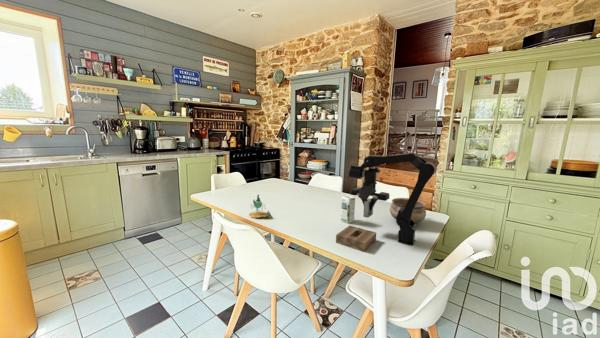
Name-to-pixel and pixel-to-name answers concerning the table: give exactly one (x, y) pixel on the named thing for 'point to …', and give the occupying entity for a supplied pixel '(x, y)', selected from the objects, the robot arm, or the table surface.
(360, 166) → the robot arm
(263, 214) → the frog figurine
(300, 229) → the table surface
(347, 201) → the syrup box
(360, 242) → the post block
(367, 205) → the upright grey stone slab
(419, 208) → the cooking pot
